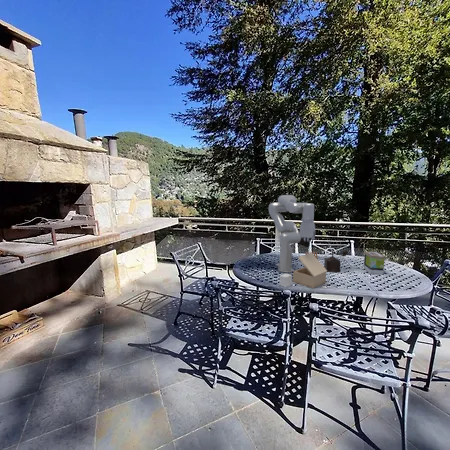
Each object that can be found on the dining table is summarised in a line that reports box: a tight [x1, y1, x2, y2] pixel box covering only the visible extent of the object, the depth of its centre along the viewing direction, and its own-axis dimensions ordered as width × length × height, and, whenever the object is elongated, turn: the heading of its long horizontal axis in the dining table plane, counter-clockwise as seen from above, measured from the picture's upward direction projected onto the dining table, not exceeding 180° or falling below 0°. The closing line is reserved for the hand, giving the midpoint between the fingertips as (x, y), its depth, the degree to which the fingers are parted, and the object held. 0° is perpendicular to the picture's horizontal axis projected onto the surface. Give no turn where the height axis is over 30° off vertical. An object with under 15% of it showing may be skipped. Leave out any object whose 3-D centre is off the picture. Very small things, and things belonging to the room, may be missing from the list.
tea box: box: [363, 251, 386, 276], centre depth 200 cm, size 15×10×15 cm, turn 168°
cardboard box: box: [292, 266, 327, 289], centre depth 177 cm, size 16×16×8 cm
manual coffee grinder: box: [323, 250, 349, 273], centre depth 203 cm, size 16×11×18 cm
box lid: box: [297, 252, 328, 277], centre depth 175 cm, size 16×17×1 cm
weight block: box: [278, 273, 293, 288], centre depth 173 cm, size 5×7×7 cm
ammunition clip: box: [304, 251, 318, 259], centre depth 220 cm, size 11×2×12 cm, turn 83°
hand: (307, 246), depth 177 cm, fingers closed
